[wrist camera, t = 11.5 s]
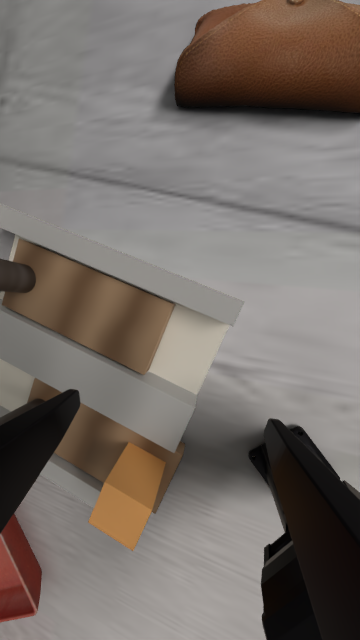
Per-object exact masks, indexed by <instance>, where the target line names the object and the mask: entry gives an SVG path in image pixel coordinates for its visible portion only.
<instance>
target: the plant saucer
mask: <svg viewBox="0 0 360 640" xmlns="http://www.w3.org/2000/svg"><path fill="white" fill-rule="evenodd" d="M41 576H42V573H41V568H40V566H39V564H38V562H37V560H36V558H35V556H34V553H33V551H32V549H31V547H30V545H29V543H28V541H27V539H26V537H25V535H24V533H23V531H22V529H21V527H20V525H19V523H18V521H17V519H16V517H15V515H14V514H13V516H12V517H11V519H10V520H9V522H8V523H7V525H6V526H5V528H4V529H3V531H2V532H1V534H0V622H4V621H9V620H15V619H20V618H25V617H30V616H34V615H36V613H37V611H38V605H39V599H40V590H41Z"/></svg>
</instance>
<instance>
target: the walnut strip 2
mask: <svg viewBox="0 0 360 640" xmlns="http://www.w3.org/2000/svg"><path fill="white" fill-rule="evenodd" d="M60 393H62V392H61V391H59V390H57V389H55V388H53V387H51V386H50V385H48V384H46V383H44V382H42V381H40V380H39V379H37V378H35V379H34V382H33V385H32V388H31V392H30V395H29V398H28V401H27V404H25V405H23V406H21V407H19V408H17V409H15V410H13V411H11V412H10V413H8V414H6V415H4V416H2V417H0V425H2V424H3V423H5V422H7V421H9V420H11V419H13V418H15V417H17V416H19V415H21V414H22V413H24V412H26V411H28V410H30V409H32V408H34V407H36V406H38V405H40V404H41V403H43V402H45V401H47V400H49V399H51V398H53V397H55V396H57V395H59V394H60ZM129 442H130V443H132V444H134V445H136V446H137V447H139V448H141V449H143V450H145V451H146V452H148V453H150V454H152V455H154V456H155V457H157V458H159V459H161V460H162V461H164V462H166V464H165V468H164V471H163V474H162V478H161V481H160V485H159V488H158V492H157V495H156V499H155V502H154V506H153V509H152V512H153V513H156V511H157V509H158V507H159V505H160V503H161V501H162V498H163V496H164V494H165V492H166V490H167V488H168V486H169V484H170V481H171V479H172V477H173V475H174V473H175V471H176V469H177V467H178V465H179V462H180V460H181V458H182V456H183V453H184V447H185V444H184V443H182V442H181V441H180V442H179V444H178V446H177V448H176V451H175V453H173V452H171V451H169V450H167V449H165V448H163V447H162V446H160V445H158V444H156V443H154V442H152V441H151V440H149V439H147V438H145V437H143V436H141V435H140V434H138V433H136V432H134V431H132V430H130V429H129V428H127V427H125V426H123V425H121V424H119V423H118V422H116V421H114V420H112V419H110V418H108V417H106V416H105V415H103V414H101V413H99V412H97V411H95V410H94V409H92V408H90V407H88V406H86V405H84V404H83V403H81V404H80V408H79V410H78V411H77V413H76V415H75V417H74V419H73V421H72V423H71V424H70V426H69V428H68V430H67V432H66V434H65V435H64V437H63V439H62V441H61V442H60V444H59V446H58V447H57V449H56V450H55V452H54V453H55V454H57V455H58V456H60V457H62V458H63V459H65V460H67V461H68V462H70V463H71V464H73V465H75V466H76V467H78V468H80V469H81V470H83V471H85V472H86V473H88V474H90V475H91V476H93V477H95V478H96V479H98V480H100V481H101V482H103V483H104V482H105V481H106V479H107V477H108V476H109V474H110V472H111V471H112V469H113V467H114V466H115V464H116V462H117V461H118V459H119V457H120V456H121V454H122V452H123V451H124V449H125V448H126V446H127V444H128V443H129Z"/></svg>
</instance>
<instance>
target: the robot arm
mask: <svg viewBox="0 0 360 640" xmlns="http://www.w3.org/2000/svg"><path fill="white" fill-rule="evenodd" d="M80 404H81V402H80V394H79V391H78V390H75V389H68V390H66V391H64V392H62V393H60V394H59V395H57V396H55V397H53V398H51V399H49V400H47V401H45V402H43V403H41V404H40V405H38V406H36V407H34V408H32V409H30V410H28V411H26V412H24V413H22V414H21V415H19V416H17V417H15V418H13V419H11V420H9V421H7V422H5V423H3V424H2V425H0V534H1V532H2V531H3V529H4V528H5V526H6V525H7V523H8V522H9V520H10V519H11V517H12V516H13V514H14V512H15V511H16V509H17V508H18V506H19V505H20V503H21V502H22V500H23V499H24V497H25V496H26V494H27V493H28V491H29V490H30V488H31V487H32V485H33V484H34V482H35V481H36V479H37V478H38V476H39V474H40V473H41V471H42V470H43V468H44V467H45V465H46V464H47V462H48V461H49V459H50V458H51V456H52V455H53V453H54V452H55V450H56V449H57V447H58V446H59V444H60V442H61V441H62V439H63V437H64V435H65V434H66V432H67V430H68V428H69V426H70V424H71V423H72V421H73V419H74V417H75V415H76V413H77V411H78V410H79V408H80ZM299 431H301V433H298V432H299ZM264 438H265V442H266V443H265V444H263V445H261V446H259V447H257V448H255V449H254V450H252V451H250V452H249V458H250V460H251V462H252V463H253V464H254V466H255V467H256V469H257V470H258V471H259V473H260V474H261V475H262V477H263V478H264V479H265V481H266V482H267V483H268V485H269V486H270V488H271V492H272V495H273V498H274V501H275V504H276V507H277V510H278V513H279V516H280V519H281V522H282V525H283V528H284V531H285V533H284V534H283V535H282V536H281V537H280V538H278V539H277V540H276V541H275V542H274V543H272V544H268V545H267V546H266V547H265V548H264V567H263V569H262V579H261V589H262V596H263V604H264V612H263V614H262V623H263V628H264V632H265V636H266V640H360V492H358V491H357V490H356V489H355V488H353V487H352V486H351V485H350V484H349V483H347V482H346V481H345V480H344V481H343V482H342V481H341V480H340V477H339V476H338V474H337V473H336V472H335V470H334V469H333V468H332V466H331V465H330V464H329V463H328V461H327V460H326V459H325V457H324V456H323V455H322V453H321V452H320V451H319V449H318V448H317V447H316V445H315V444H314V443H313V441H312V440H311V439H310V437H309V436H308V435H307V433H306V432H305V431H304V429H303V428H302V427H299V426H297V427H295V428H293V429H291V430H289V429H288V428H287V427H286V426H285V425H284V424H283V423H282V422H281V421H280V420H278V419H271V418H270V419H269V420H268V422H267V425H266V428H265V430H264ZM252 456H255V457H252Z"/></svg>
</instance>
